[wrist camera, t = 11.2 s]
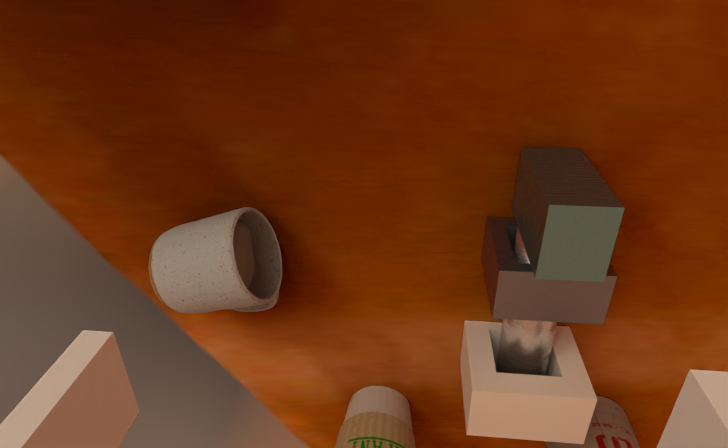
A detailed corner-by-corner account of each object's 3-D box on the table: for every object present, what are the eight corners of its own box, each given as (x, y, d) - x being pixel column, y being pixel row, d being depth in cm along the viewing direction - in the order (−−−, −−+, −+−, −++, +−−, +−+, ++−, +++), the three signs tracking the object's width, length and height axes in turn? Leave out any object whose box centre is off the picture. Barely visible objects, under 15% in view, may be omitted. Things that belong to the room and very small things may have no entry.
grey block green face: (521, 147, 35) (549, 205, 28) (579, 148, 35) (624, 207, 27) (490, 351, 45) (504, 437, 37) (536, 354, 45) (559, 442, 37)
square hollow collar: (486, 216, 39) (499, 270, 33) (584, 220, 38) (617, 276, 32) (481, 259, 41) (492, 318, 35) (574, 263, 40) (603, 324, 34)
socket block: (464, 320, 44) (472, 390, 37) (569, 326, 43) (597, 399, 36) (460, 361, 47) (466, 434, 40) (559, 368, 46) (583, 444, 39)
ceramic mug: (169, 214, 42) (122, 267, 35) (255, 189, 40) (222, 240, 33) (226, 309, 47) (195, 371, 40) (306, 290, 45) (286, 353, 38)
